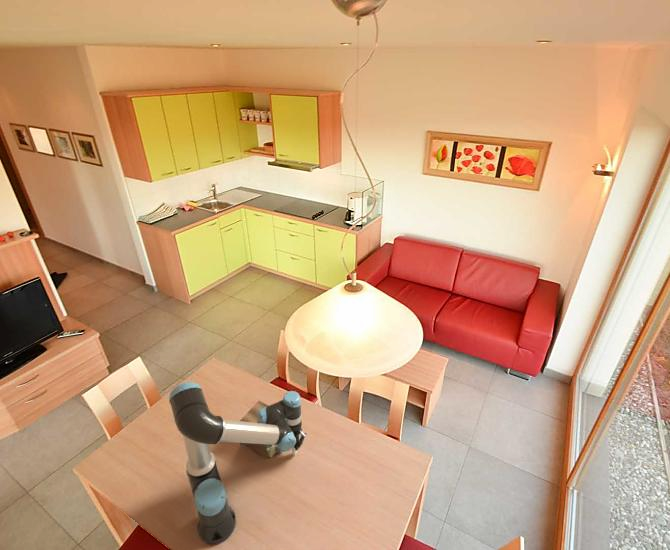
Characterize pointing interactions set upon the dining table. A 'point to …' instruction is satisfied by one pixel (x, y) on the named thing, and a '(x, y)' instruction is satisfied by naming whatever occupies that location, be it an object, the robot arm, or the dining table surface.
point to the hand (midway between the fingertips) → (295, 452)
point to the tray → (273, 450)
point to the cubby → (253, 418)
